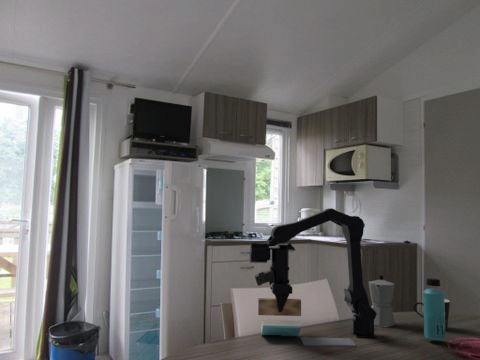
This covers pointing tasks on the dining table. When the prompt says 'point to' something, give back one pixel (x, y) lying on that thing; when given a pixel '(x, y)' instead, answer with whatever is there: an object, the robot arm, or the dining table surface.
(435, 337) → the beverage bottle
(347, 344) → the mat
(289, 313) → the tan wooden block
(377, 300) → the coffeepot
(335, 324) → the dining table surface
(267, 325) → the tile
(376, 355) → the dining table surface
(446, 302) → the coffee mug
